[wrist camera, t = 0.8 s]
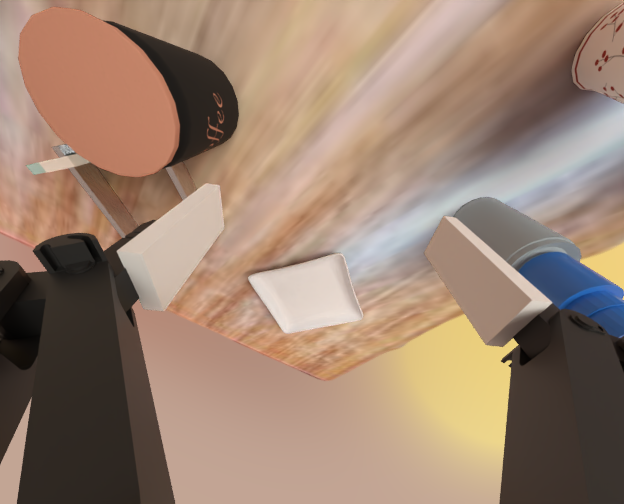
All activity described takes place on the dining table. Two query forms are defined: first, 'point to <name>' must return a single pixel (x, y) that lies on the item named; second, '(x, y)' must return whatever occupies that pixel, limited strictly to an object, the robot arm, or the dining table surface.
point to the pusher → (57, 164)
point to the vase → (602, 57)
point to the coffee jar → (123, 92)
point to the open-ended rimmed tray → (107, 197)
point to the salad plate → (309, 294)
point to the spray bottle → (546, 261)
